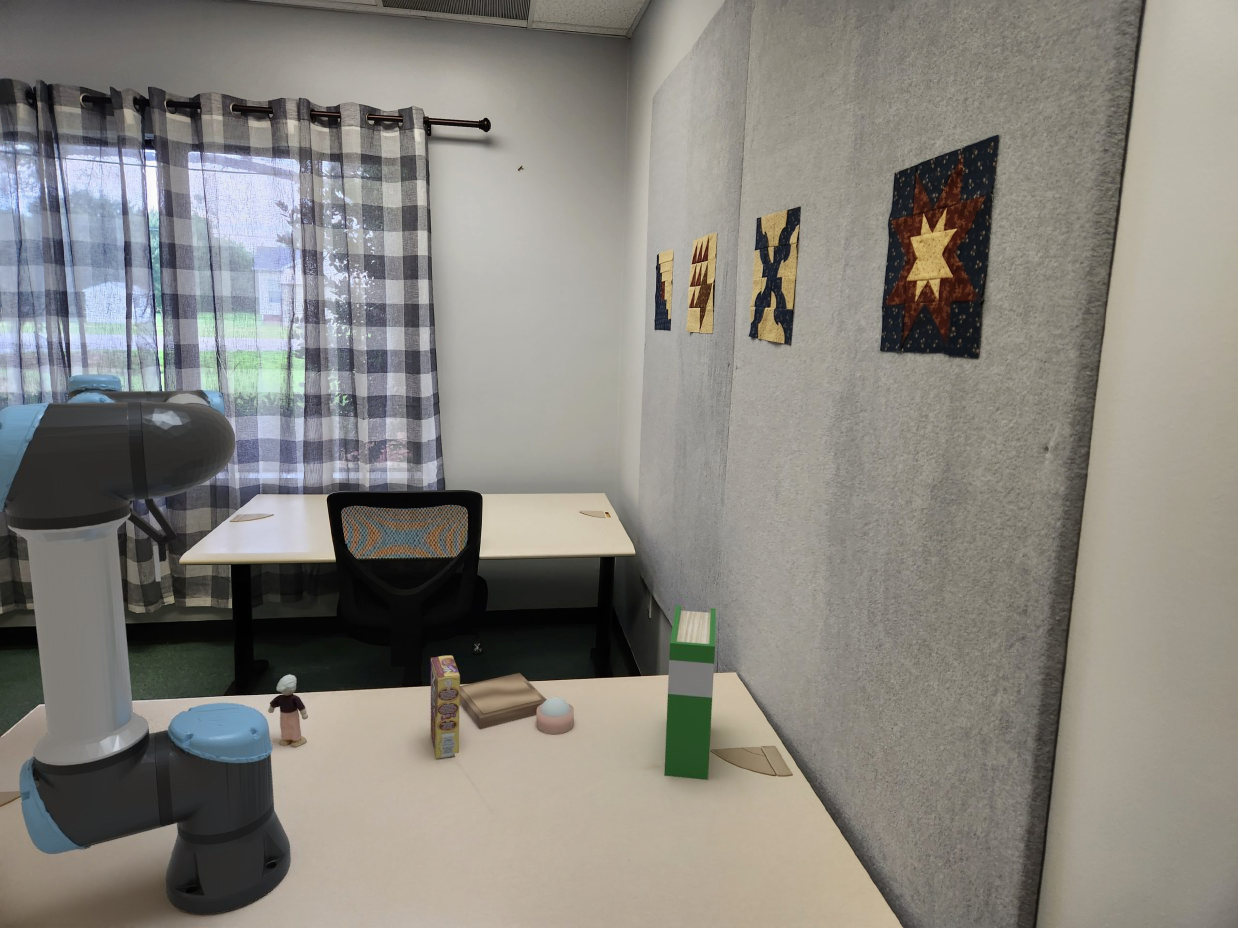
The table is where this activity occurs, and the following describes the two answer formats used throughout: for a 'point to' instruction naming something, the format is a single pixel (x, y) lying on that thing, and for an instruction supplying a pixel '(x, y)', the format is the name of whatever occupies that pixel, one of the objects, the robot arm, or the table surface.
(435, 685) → the candy box
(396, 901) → the table surface
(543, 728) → the pincushion
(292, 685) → the grandmother figurine
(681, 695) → the hardback book
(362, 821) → the table surface
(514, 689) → the brown tray
